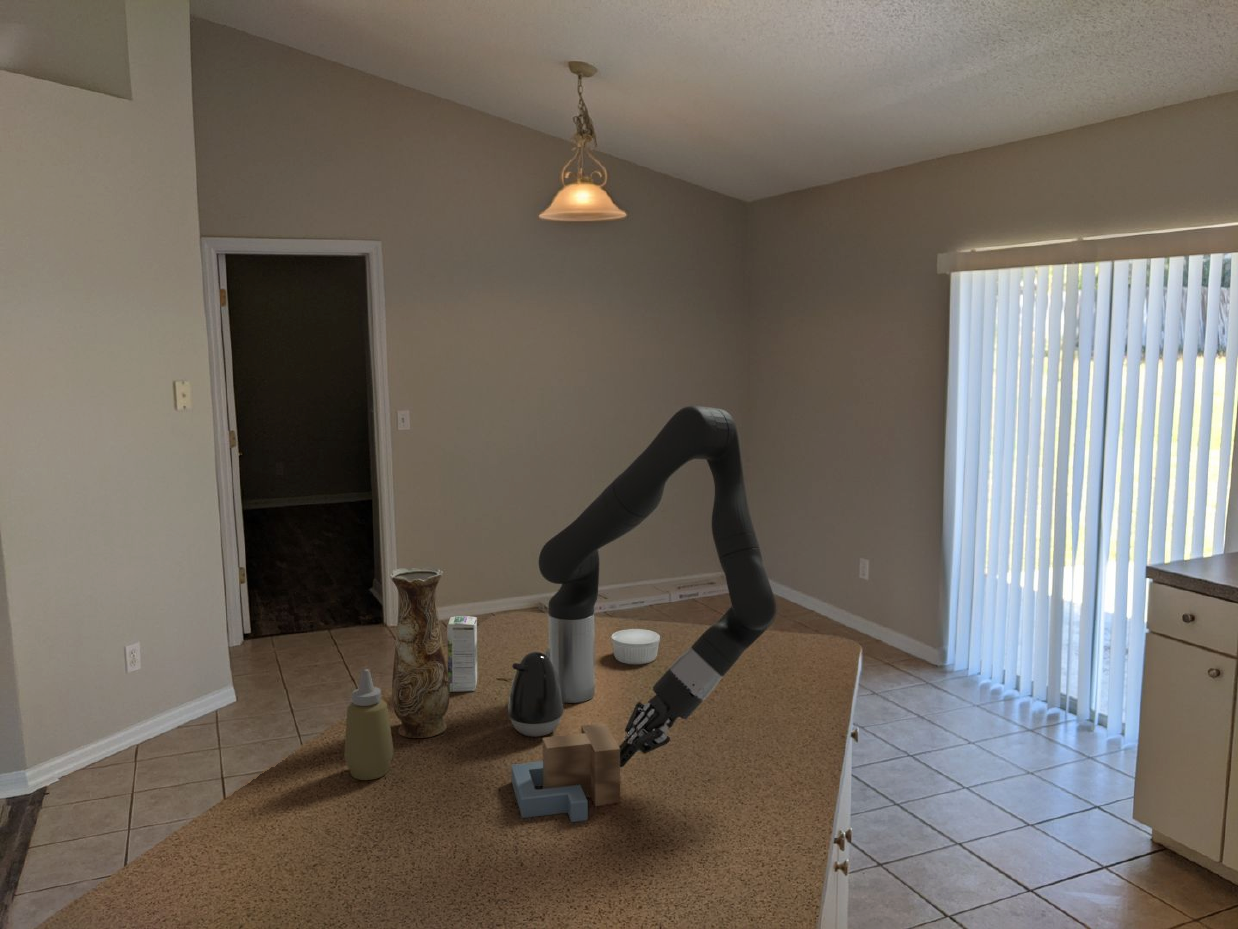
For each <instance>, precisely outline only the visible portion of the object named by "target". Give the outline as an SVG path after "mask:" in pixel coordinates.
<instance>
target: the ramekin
mask: <svg viewBox="0 0 1238 929" xmlns="http://www.w3.org/2000/svg"><path fill="white" fill-rule="evenodd" d="M610 641H611V644H612V650H613V655H614V657H615V659H616V660H617V661H618V662H620V663H623V664H627V665H646V664H650V663H652V662H653V661H654V660H655V659H656V658H657V655H658V651H659V645H660V644H659V643H660V641H661V636H660V634H659V633H657V632H656V631H653V630H648V629H642V628H629V629H623V630H619V631H618V630H617V631H616V632H614V633H612V634H611V637H610Z"/></svg>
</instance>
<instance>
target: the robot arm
mask: <svg viewBox="0 0 1238 929" xmlns="http://www.w3.org/2000/svg"><path fill="white" fill-rule="evenodd" d="M740 447H741V446H740V440H739V433H738V430H737V425H736V423H735V420H734V419H733V417H732V415H731V414H730V413H729V412H727V411H726V410H724V409H722V408H718V407H712V406H703V405H701V406H700V405H688V406H687V405H686V406H685V407H682V408H680V410H678V411H677V412H675V413H674V414H673V416H672V417H670V419H669V420H667V423H665V425H664V426H663V427H662V429H661V430H660V431H659V432H658V434H657V435H656V437H654V439H653V440H652V441H651V442H650V443H649V445H648V446H647V447H646V449H644V450H643V452H642V453H641V454H639V455H638V456H637V458H636V459H634V460H633V461H632V463H630V465H629V466H628V467H627V468H626V469H625V470H623V471H622V472H621V474H619V475H618V476H617V477H616V478H615V479H614V480H613V481H612V482H611V483H610V484H609V485H608V486H607V487H606V488H604V490H603V491H602V492H601V493H600V494H599V495H598V496H597V497H596V498H595V499H594V500H593V501H592V502H591V503H590V504H589V505H588V506H587V508H585V509H584V510H583V511H582V513H580V515H579V516H578V517H576V519H574V521H572V522H571V523H570V524H569V525H568V526H566V527H565V528H564V529H562V530H561V531H560V532H558V533H557V534H556V535H554V536H553V537H551V538H550V539H549V540H548V541H547V542H546V543H544V545H543V546H542V548H541V549H540V553H539V557H538V568H539V572H540V574H541V576H542V578H544V579H545V580H546V581H548V582H550V583H552V584H556V585H561V586H560V588H559V589H558V590H557V592H556V593H555V594H554V595H553V596H551V598H549V601H548V605H547V606H548V607H547V608H548V647H547V648H546V649H545V651H544V654H545V655H546V656H547V657H548V658H549V660H550V661H551V663H552V665H553V667H554V669H555V672H556V675H557V677H558V681H559V684H560V688H561V693H562V699H563V703H564V704H565V703H567V704H568V703H569V704H571V703H572V704H574V703H575V704H576V703H583V702H587V701H589V700H591V699H592V698H594V696H595V605H596V604H597V600H598V596H599V585H600V582H599V581H600V553H599V549H601V548H602V547H604V546H607V545H609V544H610V543H612V542H614V541H616V540H617V539H619V538H621V537H623V536H624V535H626V534H628V533H629V532H631V531H632V530H634V529H635V528H636V527H638V526H639V525H640V524H642V523H643V522H644V521H645V520H646V519H647V518H648V517H649V516H650V515H651V514H652V513H653V512H654V511H655V510H656V509H657V507H658V506H659V504H660V502H661V500H662V497H663V495H664V491H665V486H666V484H667V481H668V480H669V478H670V477H671V476H672V475H674V474H675V473H676V472H677V471H678V470H679V469H680V468H681V467H682V466H684V465H686V464H687V463H688V462H690V461H692V460H706V461H707V464H708V467H709V469H710V472H711V476H712V478H713V479H712V480H713V484H714V498H713V507H712V514H711V532H712V537H713V543H714V545H715V550H716V553H717V556H718V560H719V563H720V567H721V569H722V571H723V573H724V575H725V580H726V581H725V582H726V586H727V591H728V594H729V599H730V604H731V606H730V607H729V608H728V609H727V611H726V612H725V613H724V614H723V615H722V616H721V617H720V619H719V620H718V621H717V622H716V623H715V624H713V625H711V626H710V627H709V628H707V629H706V630H705V631H704V632H703V633H702V634H701V635H700V636H699V638H697V640H696V641H695V642H694V643H693V644H692V645H691V647H689V648H688V649H687V650H686V651H684V652H683V653H682V654H681V655H680V656H679V657H678V658H677V659H676V660H675V661H674V663H673V664H672V665H671V666H670V667H669V668H668V669H667V670H666V672H665V673H664V674H663V675H662V676H661V677H660V678H659V679H658V680H657V681H656V683H654V685H653V686H652V691H653V692H654V693H655V695H654V696H652V698H650V699H649V700H648V701H647V703H644V704H643V703H642V702H641V701H638V702H636V704H635V706H634V708H633V711H632V712H631V715H630V717H629V719H628V722H627V724H626V726H625V729H624V732H625V733H626V734H625V736H624V741H623V742H622V743H620V745H618V746H619V748H620V768H623V767H625V765H626V764H627V763H628V762H629V761H630V760H631V759H632V757H634V756H635V754H636V753H637V752H638V753H640V752H641V753H642V754H644V755H646V754H647V753H650V752H652V751H655V750H656V749H658V748H661V747H662V746H665V745H668V744H669V742H670V740H671V738H670V736H669V735H668V731H669V730H670V729H671V728H672V727H673V726H674V724H675V722H676V720H677V719H678V718H681V719H682V720H687V719H688V718H690V717H691V715H692V714H693V713H694V711H696V710H697V708H698V707H699V706H700V705H701V704H702V703H703V702H704V701H705V700H706V699H707V697H708V696H709V695H710V694H711V693H712V691H714V689H715V688H716V687H717V685H718V684H719V683H720V681H721V679H722V678H723V677H724V676H725V675H726V673H727V672H728V671H730V669H731V668H732V667H733V666H734V665H735V664H736V663H737V661H738V660H739V659H740V657H741V655H743V653H744V652H745V651H746V650H747V649H749V647H750V646H751V645H752V644H753V643H755V642H756V640H758V639H759V638H760V637H761V636H762V635H763V634H764V633H765V632H766V631H767V630H768V628H769V627H770V626H772V624H773V623H774V621H775V619H776V616H777V602H776V598H775V595H774V593H773V589H772V586H771V583H770V580H769V578H768V575H767V572H766V570H765V567H764V563H763V557H762V552H761V548H760V544H759V543H758V542H759V541H758V539H757V536H756V535H757V534H756V531H755V529H754V525H753V521H752V517H751V513H750V509H749V504H748V500H747V495H746V494H747V492H746V487H745V486H746V484H745V478H744V470H743V462H742V456H741V448H740Z"/></svg>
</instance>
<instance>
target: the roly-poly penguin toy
mask: <svg viewBox="0 0 1238 929" xmlns="http://www.w3.org/2000/svg"><path fill="white" fill-rule="evenodd" d="M512 669H513V670H516V671H515V673H514V676H513V678H512V679H513V680H512V683H511V687H510V693H509V700H508V705H507V706H508V709H507V711H508V712H507V714H508V717H509V718H510V720H511V723H512V725H513V727H514V729H515V730H516V731H518V732H519V733H520V734H522V735H524V736H527V737H535V738H537V737H543V736H546V735H549V734H551V733H552V732H553V731H555V730H556V729H557V727H558V726H559V724H560V722H561V719H562V716H563V714H564V702H563V699H562V693H561V688H560V684H559V681H558V677H557V675H556V672H555V669H554V667H553V665H552V663H551V661H550V660H549V658H548V657H547V656H546V655H545V653H543V652H541V651H531V652H528V653H527V654H526V655H524V656H523V657H522V659H521V660H520V662H517V663H516V662H514V663H513V664H512Z"/></svg>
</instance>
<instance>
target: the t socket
mask: <svg viewBox="0 0 1238 929" xmlns="http://www.w3.org/2000/svg"><path fill="white" fill-rule="evenodd" d="M510 767H511V768H510V769H511V785H512V788H513V790H514V791H513V792H514V794H515V795H514V796H515V799H516V802H517V807H518V809H519V812H520V813H519V814H520V817H521V819H525V818H534V817H541V816H548V815H549V816H551V815H558V814H565V813H567V814H568V817H569V819H570V822H571V823H575V822H577V823H578V822H583V821H588V820H589V817H588V816H589V815H588V813H589V812H588V811H589V808H588V806H589V805H588V804H589V803H588V799H587V798H586V797H585V795H584V792H583V790H582V788H581V785H573V786H565V787H556V788H548V789H543V788H541V789H536V787H541V786H542V787H543V760H542V761H540V760H539V761H531V762H523V763H522V762H521V763H514V764H513V763H512V764H511V766H510Z"/></svg>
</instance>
